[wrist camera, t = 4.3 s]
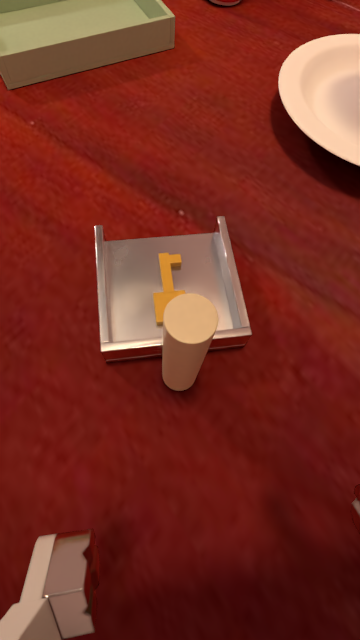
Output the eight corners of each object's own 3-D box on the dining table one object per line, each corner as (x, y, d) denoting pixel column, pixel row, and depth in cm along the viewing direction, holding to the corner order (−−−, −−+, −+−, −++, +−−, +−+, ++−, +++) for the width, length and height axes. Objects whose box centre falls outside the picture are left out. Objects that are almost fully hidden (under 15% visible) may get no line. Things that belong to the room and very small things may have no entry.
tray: (8, 90, 34) (-5, 57, 31) (-26, 21, 38) (-41, -13, 36) (174, 48, 39) (175, 16, 36) (126, -10, 43) (124, -42, 40)
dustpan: (251, 381, 24) (309, 330, 14) (108, 400, 22) (72, 357, 13) (219, 236, 28) (247, 128, 19) (100, 245, 27) (69, 136, 18)
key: (190, 322, 24) (191, 318, 24) (156, 325, 24) (156, 322, 24) (179, 255, 27) (180, 251, 26) (148, 258, 26) (148, 254, 26)
